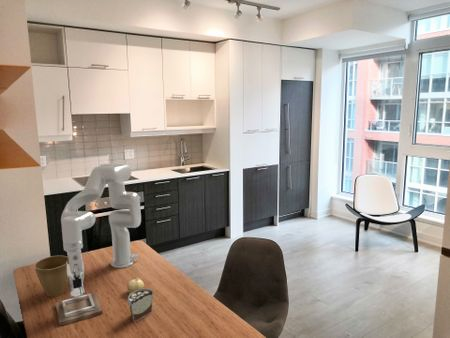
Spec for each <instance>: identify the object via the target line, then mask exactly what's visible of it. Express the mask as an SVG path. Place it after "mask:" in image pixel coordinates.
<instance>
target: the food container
mask: <svg viewBox="0 0 450 338" xmlns="http://www.w3.org/2000/svg"><path fill="white" fill-rule="evenodd" d="M154 294H155V292H154V290H153V289H150V288H143V289H139V290H136V291H134V292H132V293H129V295H128V297H127V305H128V306H129V310H130V311H129V312H130V317H131V318H130V319H131V321H132V322H133V323H136V322H137V321H139V320H141V319H143V318H145V317H146V316H147V315H150V314H152V313H153V297H154V296H153V295H154Z"/></svg>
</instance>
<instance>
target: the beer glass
mask: <svg viewBox="0 0 450 338" xmlns="http://www.w3.org/2000/svg"><path fill="white" fill-rule="evenodd" d="M83 260H84V259H83V258H82V264H83V272H82V271H81V272H80V278H81V285H82V286H81V287H79V288H75V289H74V288H73V274H72V273H71V271H70V266H69V263H68V261H67V262H66V271H67V281H68V284H69V296H70V297H72V298H75V297H79V296H83V295H85V292H86V290H85V288H84V279H85V278H84V277H85V265H84V261H83ZM78 271H79V268H78ZM74 272H75V268H74ZM74 276H75V274H74Z"/></svg>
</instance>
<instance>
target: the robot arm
mask: <svg viewBox="0 0 450 338" xmlns="http://www.w3.org/2000/svg"><path fill="white" fill-rule="evenodd" d="M131 176H132V168H131V167H130V166H129V164H125V163H122V164H121V163H103V164H100V165H99V166H96V167H94V168H93V169H92V170H91V173H90V174H89V177H88V179H87V182H86V184H85V185H84V188H83V190H81V191H80V192H78V193H77V194H76V195H74V196H73V197H72V198H71V199H69V201H67V203H66V205H65V207H64V209H63V211H62V213H61V218H60V222H61V223H60V224H61V233H62V235H61V236H62V242H63V243H62V246H63V251H65V252H66V253H67V254H66V255H67V256H66V257H68V263H69V266H70V271H71V273H72V274H73V288H74V289H75V288H79V287H81V286H82V285H81V278H80V272H81V271H82V272H83V265H84V263H83V264H82V259H83V255H82V250H81V249H83V247H84V243H83V234H82V233H83V232H82V231H83V230H84V231H85V230H87V229H90V228H92V227H93V226H94V224H95V222H96V220H97V219H96V216H95V213H93V212H91V211H85V210H84V211H83V210H79V209H80V208H81V207H83V206H84V205H88V204H91V203H93V202H95V201H97V200H99V199H100V198H102V196H103V193H104V190H105V187H106V185H107V187H108V195H109V203H110V207H111V208H112V209H115V210H113V211H111V212H110V213H109V214H108V223H109V225H110V226H109V227H110V230H111V242H112V257H113V259H112V261H111V262H110V266H111V267H113V268H114V269H115V268H116V269H121V268H123V269H124V268H127V267H130V266H132V265H133V264H134V262H135V260H134V259H139V258H140V254H136V253H133V254H131V239H130V232H129V231H130V230H129V229H128V228H134V229H136V228H138V227H139V226H141V223H142V213H141V201H140V196H139V195H138V193H137V192H134V191H127V190H126V187H125V182H126V181H128V180H129V179H130V178H131ZM74 268H75V272H74ZM78 268H79V271H78ZM74 274H75V276H74Z"/></svg>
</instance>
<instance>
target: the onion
mask: <svg viewBox="0 0 450 338" xmlns="http://www.w3.org/2000/svg"><path fill="white" fill-rule="evenodd" d="M139 289H145V283H144V281H143V280H142V279H141V278H140V277H138V276H136V278H133V279H131V280H130V281H129V282H128V283H127V285H126V290H127V291H128V293H129V294H131V293H132V292H134V291H136V290H139Z"/></svg>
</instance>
